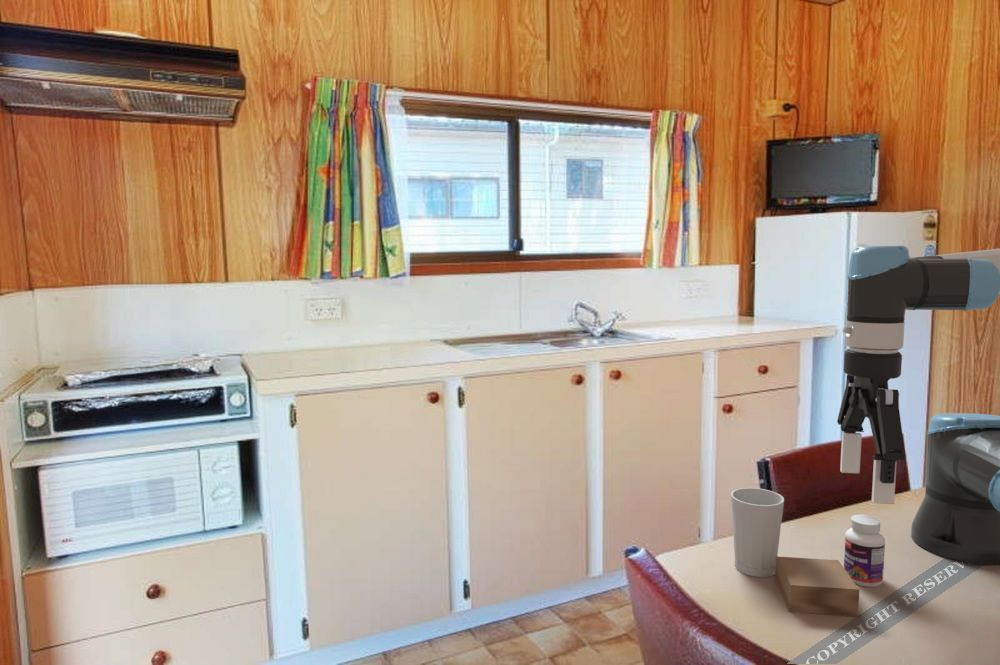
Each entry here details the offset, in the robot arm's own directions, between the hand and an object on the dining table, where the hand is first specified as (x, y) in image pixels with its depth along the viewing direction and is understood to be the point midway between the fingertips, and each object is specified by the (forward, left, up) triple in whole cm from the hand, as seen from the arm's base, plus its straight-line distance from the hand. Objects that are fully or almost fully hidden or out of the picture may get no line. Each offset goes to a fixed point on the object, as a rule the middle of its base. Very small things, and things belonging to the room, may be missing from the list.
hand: (865, 486), depth 100 cm
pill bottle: (0, 0, -15) cm, 15 cm away
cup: (+15, -2, -15) cm, 22 cm away
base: (+9, +7, -15) cm, 19 cm away
